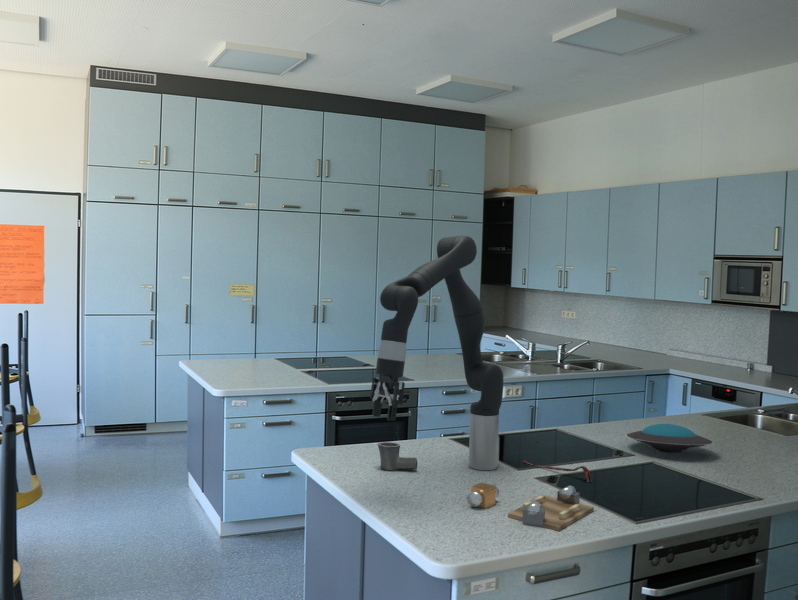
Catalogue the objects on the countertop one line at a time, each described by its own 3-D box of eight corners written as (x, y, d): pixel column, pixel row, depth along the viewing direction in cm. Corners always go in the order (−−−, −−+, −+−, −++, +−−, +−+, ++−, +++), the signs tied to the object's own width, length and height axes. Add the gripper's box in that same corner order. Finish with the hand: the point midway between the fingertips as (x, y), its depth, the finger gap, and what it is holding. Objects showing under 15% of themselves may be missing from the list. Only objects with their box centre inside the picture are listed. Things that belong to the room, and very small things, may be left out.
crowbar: (592, 483, 206) (591, 466, 206) (588, 484, 205) (586, 467, 205) (527, 474, 226) (526, 459, 227) (522, 475, 225) (521, 460, 225)
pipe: (415, 474, 210) (415, 448, 210) (374, 470, 213) (375, 445, 213) (418, 468, 216) (419, 443, 216) (378, 465, 219) (379, 440, 219)
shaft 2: (562, 501, 187) (562, 483, 187) (579, 505, 184) (579, 487, 184) (555, 505, 184) (555, 487, 184) (572, 509, 181) (573, 491, 181)
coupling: (486, 498, 189) (486, 480, 189) (500, 502, 186) (500, 483, 186) (465, 507, 181) (466, 488, 181) (480, 511, 178) (480, 492, 178)
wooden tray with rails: (545, 498, 189) (545, 489, 189) (593, 510, 180) (593, 501, 180) (508, 517, 174) (508, 507, 174) (558, 531, 165) (558, 520, 165)
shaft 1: (525, 518, 173) (525, 499, 173) (545, 521, 171) (545, 502, 171) (522, 524, 169) (523, 504, 169) (543, 526, 168) (543, 507, 167)
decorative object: (718, 450, 250) (719, 422, 250) (705, 467, 226) (706, 437, 225) (635, 438, 266) (636, 412, 265) (615, 453, 241) (616, 425, 241)
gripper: (416, 361, 182) (408, 423, 180) (390, 358, 194) (383, 415, 193) (392, 358, 178) (383, 421, 177) (367, 355, 191) (359, 413, 189)
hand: (383, 418), depth 185 cm, fingers open, 8 cm apart
